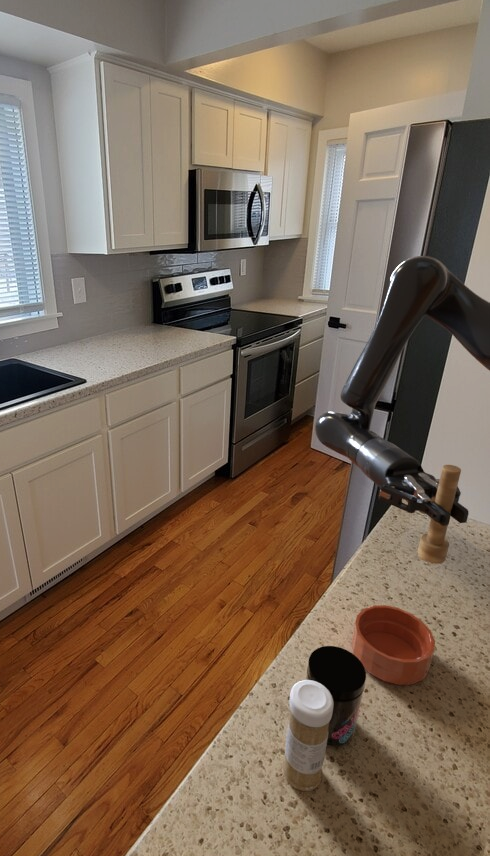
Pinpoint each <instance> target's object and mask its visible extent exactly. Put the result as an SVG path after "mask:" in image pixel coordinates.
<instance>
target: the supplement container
mask: <svg viewBox="0 0 490 856" xmlns="http://www.w3.org/2000/svg"><path fill="white" fill-rule="evenodd" d="M366 671H367V670H366V669H365V668H364V666H363V664H362V663H361V661H360V660H359V659H358V658H357V657H356V656H355V655H354V654H353V652H351V651H349V650H347V649H345V648H343V647H340V646H334V645H324V646H320V647H317V648H316V649H314V650H312V652H311V653H310V655H309V656H308V662H307V668H306V680H312V681H316V682H318V683H320V684H322V685H323V686H325V687H326V688H327V689H328V691H329V692H330V694H331V695H332V698H333V713H332V718H331V720H330V722H329V727H328V739H327V745H326V747H333V748H335V747H336V748H337V747H342V746H345V745H346V744H348V743H350V742H351V741H352V740H353V738H354V736H355V734H356V729H357V724H358V718H359V714H360V708H361V703H362V700H363V699H362V698H363V693H364V691H365V685H366V680H367V672H366Z"/></svg>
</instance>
